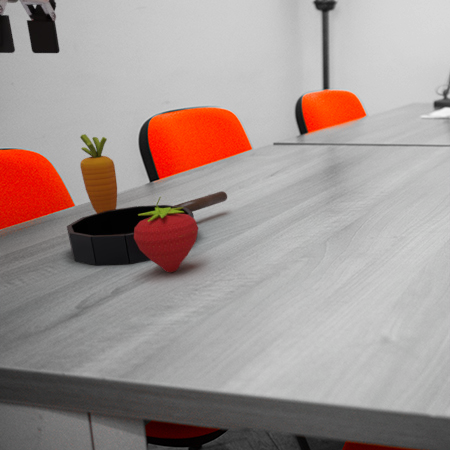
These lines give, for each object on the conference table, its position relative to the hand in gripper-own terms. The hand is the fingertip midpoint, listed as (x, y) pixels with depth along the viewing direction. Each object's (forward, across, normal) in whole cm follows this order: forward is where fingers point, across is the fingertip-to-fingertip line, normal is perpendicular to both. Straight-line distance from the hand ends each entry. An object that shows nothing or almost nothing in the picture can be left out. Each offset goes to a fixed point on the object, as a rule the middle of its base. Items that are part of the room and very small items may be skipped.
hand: (24, 52), depth 69 cm
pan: (+27, -11, +10) cm, 31 cm away
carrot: (+27, -19, -2) cm, 33 cm away
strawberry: (+27, +5, +16) cm, 32 cm away
